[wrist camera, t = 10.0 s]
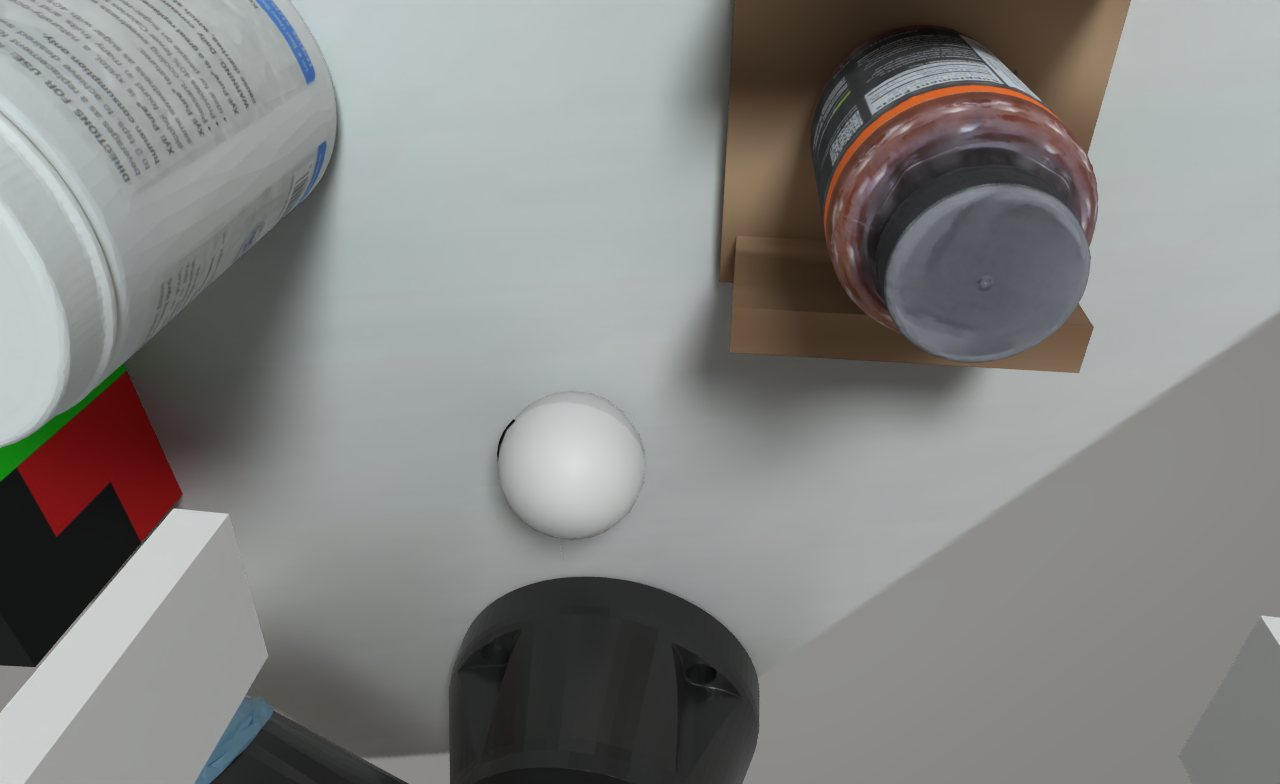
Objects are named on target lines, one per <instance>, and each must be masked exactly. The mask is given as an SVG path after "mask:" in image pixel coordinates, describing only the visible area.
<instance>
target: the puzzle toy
mask: <svg viewBox="0 0 1280 784" xmlns="http://www.w3.org/2000/svg"><path fill="white" fill-rule="evenodd" d="M181 495H182V492H181V490H180V488H179V485H178V483H177V481H176V479H175V477H174V474H173V472H172V470H171V468H170V466H169V463H168V461H167V459H166V457H165V454H164V452H163V450H162V448H161V446H160V443H159V441H158V439H157V437H156V435H155V432H154V430H153V428H152V426H151V424H150V421H149V419H148V417H147V415H146V413H145V410H144V408H143V406H142V404H141V402H140V399H139V397H138V395H137V393H136V391H135V388H134V386H133V384H132V382H131V380H130V377H129V375H128V373H127V371H126V369H125V366H124V364H122V365H121V366H120V367H118V368H117V369H116V370H115V371H114V372H113V373H112V374H110V375H109V376H108V377H107V378H106V379H105V380H104V381H103V382H101V383H100V384H99V385H98V386H97V387H96V388H94V389H93V390H92V391H91V392H90V393H89V394H88V395H87V396H86V397H85V398H84V399H82V400H81V401H80V402H79V403H77V404H76V405H75V406H73V407H71V408H70V409H68V410H66V411H65V412H63V413H61V414H58V415H56V416H55V417H53V418H52V419H51V420H50V421H48V422H47V423H46V424H44V425H43V426H42V427H41V428H39V429H38V430H37V431H36V432H34V433H33V434H31V435H30V436H28V437H26V438H24V439H22V440H20V441H18V442H16V443H13V444H10V445H7V446H4V447H1V448H0V665H5V666H6V665H7V666H24V667H36V665H37V664H38V663H39V662H40V661H41V660H42V658H43V657H44V656H45V655H46V654H47V652H48V651H49V650H50V649H51V648H52V647H53V645H54V644H55V643H56V642H57V641H58V639H59V638H60V637H61V636H62V635H63V634H64V632H65V631H66V630H67V629H68V628H69V627H70V625H71V624H72V623H73V622H74V621H75V620H76V618H77V617H78V616H79V615H80V614H81V613H82V611H83V610H84V609H85V608H86V607H87V606H88V604H89V603H90V602H91V601H92V600H93V599H94V597H95V596H96V595H97V594H98V593H99V591H100V590H101V589H102V588H103V587H104V586H105V584H106V583H107V582H108V581H109V580H110V579H111V577H112V576H113V575H114V574H115V573H116V572H117V570H118V569H119V568H120V567H121V566H122V564H123V563H124V562H125V561H126V560H127V559H128V557H129V556H130V555H131V554H132V553H133V552H134V550H135V549H136V548H137V547H138V546H139V545H140V543H141V542H142V541H143V540H144V539H145V538H146V536H147V535H148V534H149V533H150V532H151V530H152V529H153V528H154V527H155V526H156V525H157V523H158V522H159V521H160V520H161V519H162V518H163V516H164V515H165V514H166V513H167V512H168V511H169V509H170V508H171V507H172V506H173V505H174V503H175V502H176V501H177V500H178V499H179V498H180V496H181Z"/></svg>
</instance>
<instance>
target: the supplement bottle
mask: <svg viewBox="0 0 1280 784" xmlns="http://www.w3.org/2000/svg"><path fill="white" fill-rule="evenodd" d="M1014 74H1015V75H1014ZM1014 74H1013V72H1012V71H1011V70H1009V69H1008V68H1007V67H1006V66H1005V65H1004V64H1003V63H1002V62H1001V61H1000V60H999V59H998V58H997V57H996V56H995V55H994V54H993V53H992V52H991V51H989V50H988V49H987V48H985V47H984V46H982V45H981V44H979V43H978V42H977V41H976V40H974V39H973V38H970V37H968V36H967V35H965V34H963V33H960V32H957V31H955V30H953V29H950V28H946V27H940V26H934V25H916V26H907V27H902V28H897V29H894V30H890V31H888V32H885V33H883V34H881V35H878V36H876V37H874V38H872V39H870V40H868V41H866V42H865V43H863V44H862V45H860V46H859V47H857V48H856V49H854V50H853V51H852V52H851V53H850V54H849V55H848V56H847V57H846V58H845V59H844V60H843V61H842V62H841V63H840V64H839V65H838V66H837V68H836V69H835V70H834V71H833V72H832V74H831V75H830V77H829V79H828V80H827V82H826V83H825V85H824V87H823V88H822V91H821V93H820V95H819V98H818V101H817V103H816V106H815V109H814V114H813V118H812V124H811V140H810V144H811V153H812V160H813V166H814V172H815V178H816V183H817V190H818V197H819V202H820V208H821V215H822V220H823V228H824V231H825V236H826V242H827V247H828V251H829V254H830V257H831V261H832V264H833V267H834V270H835V272H836V274H837V277H838V279H839V281H840V283H841V284H842V286H843V288H844V289H845V291H846V293H847V294H848V296H849V297H850V298H851V299H852V300H853V301H854V302H855V304H856V305H857V306H858V307H859V308H860V309H861V310H862V311H863V312H865V313H866V314H867V315H868V316H870V317H871V318H872V319H874V320H875V321H877V322H878V323H880V324H882V325H883V326H885V327H887V328H889V329H891V330H893V331H895V332H898V333H900V334H902V335H903V336H904V337H905V338H906V339H908V340H909V341H910V342H911V343H912V344H913V345H915V346H916V347H918V348H919V349H921V350H923V351H925V352H926V353H928V354H930V355H933V356H935V357H938V358H942V359H946V360H949V361H955V362H963V363H983V362H990V361H997V360H1000V359H1004V358H1008V357H1012V356H1015V355H1018V354H1019V353H1021V352H1024V351H1027V350H1029V349H1031V348H1033V347H1035V346H1037V345H1038V344H1040V343H1041V342H1043V341H1044V340H1045V339H1047V338H1048V337H1049V336H1050V335H1052V334H1053V333H1054V332H1055V331H1057V330H1058V329H1059V328H1060V327H1061V326H1062V325H1063V323H1064V322H1065V321H1066V320H1067V319H1068V318H1069V317H1070V315H1071V314H1072V313H1073V311H1074V310H1075V308H1076V307H1077V305H1078V303H1079V301H1080V299H1081V298H1082V296H1083V293H1084V290H1085V288H1086V285H1087V281H1088V276H1089V269H1090V259H1091V257H1090V250H1089V246H1090V243H1091V240H1092V237H1093V233H1094V229H1095V224H1096V220H1097V213H1098V205H1097V203H1098V193H1097V183H1096V178H1095V174H1094V172H1093V167H1092V165H1091V163H1090V161H1089V158H1088V156H1087V154H1086V152H1085V151H1084V150H1083V148H1082V147H1081V145H1080V143H1079V142H1078V140H1077V139H1076V138H1075V136H1074V135H1073V133H1072V132H1071V131H1070V130H1069V129H1068V128H1067V126H1066V125H1065V124H1064V123H1063V122H1062V121H1061V120H1060V119H1059V118H1058V117H1057V116H1055V115H1054V113H1053V112H1052V111H1051V110H1050V109H1049V108H1048V106H1047V105H1046V104H1045V103H1044V102H1043V101H1042V100H1041V99H1040V98H1039V97H1037V96H1036V95H1035V93H1034V92H1033V91H1032V90H1031V89H1030V88H1028V87H1027V86H1026V85H1025V84H1024V83H1023V82H1022V81H1021V80H1020V79H1019V78H1018V77H1017V70H1014Z"/></svg>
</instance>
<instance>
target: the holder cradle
mask: <svg viewBox="0 0 1280 784" xmlns="http://www.w3.org/2000/svg"><path fill="white" fill-rule="evenodd" d="M1130 2H1131V0H735V1H734V20H733V38H732V57H731V75H730V94H729V112H728V131H727V149H726V168H725V186H724V205H723V223H722V242H721V260H720V279H719V282H731V283H734V286H733V302H732V318H731V334H730V349H729V352H731V353H748V354H765V355H782V356H799V357H816V358H833V359H850V360H867V361H884V362H901V363H918V364H935V365H952V366H969V367H986V368H1003V369H1020V370H1037V371H1054V372H1071V373H1079V371H1080V368H1081V365H1082V362H1083V359H1084V356H1085V352H1086V349H1087V346H1088V343H1089V340H1090V337H1091V334H1092V331H1093V328H1094V327H1093V325H1092V324H1091V322H1090V321H1089V319H1088V318H1087V316H1086V314H1085V313H1084V311H1083V310H1082V308H1081V307H1080V305H1079V303H1078V305H1077V307H1076V308H1075V310H1074V311H1073V313H1072V314H1071V315H1070V317H1069V318H1068V319H1067V320H1066V321H1065V322H1064V323H1063V325H1062V326H1061V327H1060V328H1059V329H1058V330H1057V331H1055V332H1054V333H1053V334H1052V335H1050V336H1049V337H1048V338H1047V339H1045V340H1044V341H1043V342H1041V343H1040V344H1038V345H1037V346H1035V347H1033V348H1031V349H1029V350H1027V351H1024V352H1021V353H1019V354H1018V355H1015V356H1012V357H1008V358H1004V359H1000V360H997V361H990V362H983V363H963V362H955V361H949V360H946V359H942V358H938V357H935V356H933V355H930V354H928V353H926V352H925V351H923V350H921V349H919V348H918V347H916V346H915V345H913V344H912V343H911V342H910V341H909V340H908V339H906V338H905V337H904V336H903V335H902V334H900V333H898V332H895V331H893V330H891V329H889V328H887V327H885V326H883V325H882V324H880V323H878V322H877V321H875V320H874V319H872V318H871V317H870V316H868V315H867V314H866V313H865V312H863V311H862V310H861V309H860V308H859V307H858V306H857V305H856V304H855V302H854V301H853V300H852V299H851V298H850V297H849V296H848V294H847V293H846V291H845V289H844V288H843V286H842V284H841V283H840V281H839V279H838V277H837V274H836V272H835V270H834V267H833V264H832V261H831V257H830V254H829V251H828V247H827V242H826V236H825V231H824V228H823V220H822V215H821V208H820V202H819V197H818V190H817V183H816V178H815V172H814V166H813V160H812V153H811V144H810V140H811V124H812V118H813V114H814V109H815V106H816V103H817V101H818V98H819V95H820V93H821V91H822V88H823V87H824V85H825V83H826V82H827V80H828V79H829V77H830V75H831V74H832V72H833V71H834V70H835V69H836V68H837V66H838V65H839V64H840V63H841V62H842V61H843V60H844V59H845V58H846V57H847V56H848V55H849V54H850V53H851V52H852V51H853V50H854V49H856V48H857V47H859V46H860V45H862V44H863V43H865V42H866V41H868V40H870V39H872V38H874V37H876V36H878V35H881V34H883V33H885V32H888V31H890V30H894V29H897V28H902V27H907V26H916V25H934V26H940V27H946V28H950V29H953V30H955V31H957V32H960V33H963V34H965V35H967V36H968V37H970V38H973V39H974V40H976V41H977V42H978V43H979V44H981V45H982V46H984V47H985V48H987V49H988V50H989V51H991V52H992V53H993V54H994V55H995V56H996V57H997V58H998V59H999V60H1000V61H1001V62H1002V63H1003V64H1004V65H1005V66H1006V67H1007V68H1008V69H1009V70H1011V71H1012V72H1013V74H1014V70H1017V77H1018V78H1019V79H1020V80H1021V81H1022V82H1023V83H1024V84H1025V85H1026V86H1027V87H1028V88H1030V89H1031V90H1032V91H1033V92H1034V93H1035V95H1036V96H1037V97H1039V98H1040V99H1041V100H1042V101H1043V102H1044V103H1045V104H1046V105H1047V106H1048V108H1049V109H1050V110H1051V111H1052V112H1053V113H1054V115H1055V116H1057V117H1058V118H1059V119H1060V120H1061V121H1062V122H1063V123H1064V124H1065V125H1066V126H1067V128H1068V129H1069V130H1070V131H1071V132H1072V133H1073V135H1074V136H1075V138H1076V139H1077V140H1078V142H1079V143H1080V145H1081V147H1082V148H1083V150H1084V151H1085V152H1086V154H1088V150H1089V147H1090V143H1091V140H1092V136H1093V133H1094V129H1095V126H1096V122H1097V119H1098V115H1099V111H1100V108H1101V104H1102V101H1103V97H1104V94H1105V90H1106V87H1107V83H1108V80H1109V76H1110V73H1111V69H1112V65H1113V62H1114V58H1115V55H1116V51H1117V48H1118V44H1119V41H1120V37H1121V34H1122V30H1123V26H1124V23H1125V19H1126V16H1127V12H1128V9H1129V5H1130ZM1014 75H1015V74H1014Z"/></svg>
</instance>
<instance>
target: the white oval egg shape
mask: <svg viewBox="0 0 1280 784" xmlns="http://www.w3.org/2000/svg"><path fill="white" fill-rule="evenodd" d="M497 457H498V479H499V481H500V484H501V487H502V489H503V492H504V494H505V497H506V499H507V501H508V504H509V506H510V508H511V509H512V510H513V511H514V512H515V514H516V515H517V516H518V517H519V518H520V520H522V521H523V522H525V523H526V524H527V525H529V526H530V527H532V528H533V529H535V530H536V531H539V532H542V533H544V534H547V535H550V536H552V537H557V538H565V539H581V538H590V537H593V536H595V535H598V534H600V533H603V532H605V531H607V530H608V529H609V528H611V527H612V526H613V525H615V524H616V523H617V522H618V521H620V520H621V519H622V518H623V517H624V516H626V515H627V514H628V513H629V512H630V510H631V508H632V507H633V505H634V503H635V501H636V499H637V497H638V495H639V493H640V491H641V489H642V486H643V484H644V476H645V466H646V464H645V451H644V448H643V444H642V441H641V438H640V434H639V433H638V431H637V430H636V429H635V427H634V426H633V424H632V423H631V422H630V420H629V419H628V417H627V416H626V415H625V414H624V412H623V411H622V410H620V409H619V408H618V407H616V406H615V405H614V404H612V403H611V402H610V401H609V400H606V399H604V398H601V397H599V396H596V395H594V394H591V393H585V392H577V391H569V392H562V393H555V394H552V395H549V396H546V397H544V398H542V399H540V400H538V401H536V402H534V403H532V404H530V405H528V406H527V407H526V408H525V409H524V410H523V411H522V412H521V413H520V414H519V415H518V416H517V417H516V418H515V420H514V419H513V420H512V421H511V422H510V424H509V425H508V426H507V427H506V429H505V430H504V432H503V434H502V436H501V438H500V441H499V445H498V452H497ZM559 542H560V539H559ZM560 549H561V545H560ZM561 556H562V553H561ZM562 560H563V558H562Z"/></svg>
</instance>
